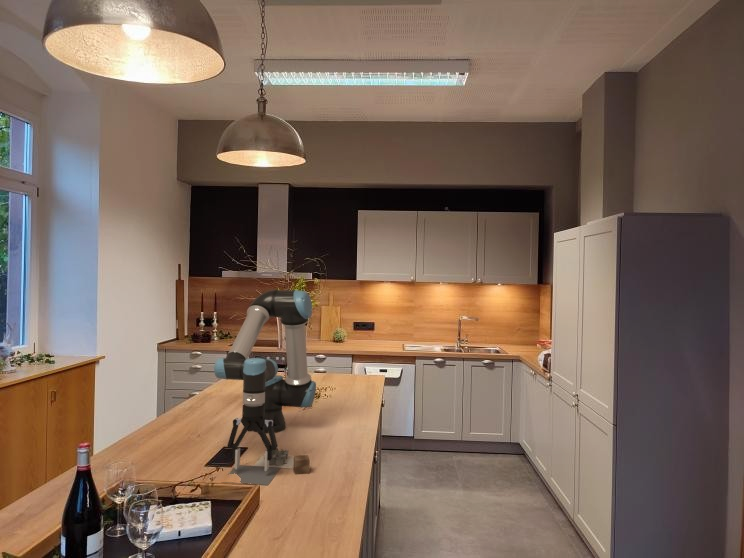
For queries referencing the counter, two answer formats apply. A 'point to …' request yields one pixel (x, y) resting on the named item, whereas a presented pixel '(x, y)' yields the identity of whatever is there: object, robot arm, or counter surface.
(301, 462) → the walnut block
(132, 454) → the counter surface
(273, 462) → the egg carton
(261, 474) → the slate coaster
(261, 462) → the tile
